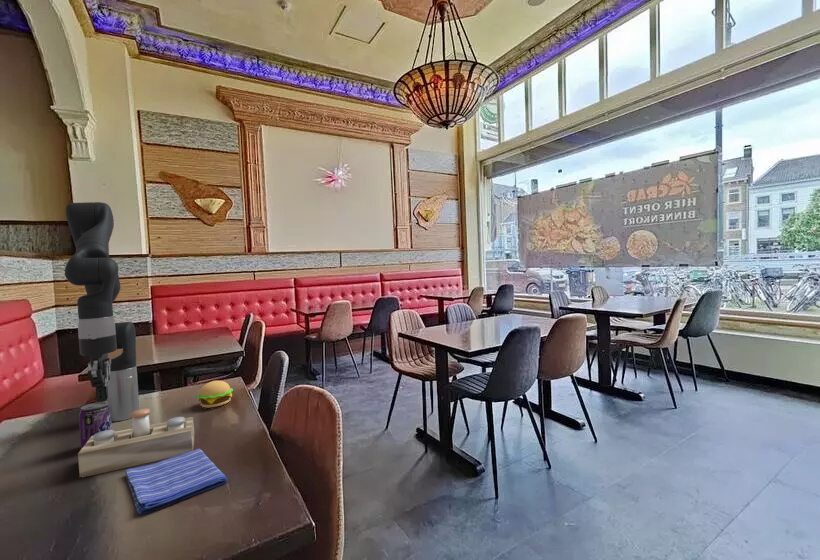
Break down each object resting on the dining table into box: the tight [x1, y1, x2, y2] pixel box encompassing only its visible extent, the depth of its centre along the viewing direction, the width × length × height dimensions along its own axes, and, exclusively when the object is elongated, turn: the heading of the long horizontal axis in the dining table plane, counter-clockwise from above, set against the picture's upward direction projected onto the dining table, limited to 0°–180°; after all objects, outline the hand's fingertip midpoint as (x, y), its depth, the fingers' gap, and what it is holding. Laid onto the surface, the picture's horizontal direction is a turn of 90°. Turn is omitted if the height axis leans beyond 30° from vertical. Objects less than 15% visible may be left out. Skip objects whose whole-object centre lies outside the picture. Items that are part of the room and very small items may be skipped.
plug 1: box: [93, 429, 116, 446], centre depth 102 cm, size 4×4×8 cm
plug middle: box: [130, 408, 151, 438], centre depth 105 cm, size 4×4×8 cm
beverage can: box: [78, 401, 113, 450], centre depth 113 cm, size 7×7×12 cm
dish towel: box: [125, 448, 228, 516], centre depth 92 cm, size 17×24×3 cm
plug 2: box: [165, 416, 186, 431], centre depth 109 cm, size 4×4×8 cm
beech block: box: [77, 416, 195, 478], centre depth 105 cm, size 12×24×6 cm, turn 117°
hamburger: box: [196, 380, 234, 408], centre depth 145 cm, size 12×12×9 cm
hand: (102, 400), depth 101 cm, fingers closed
